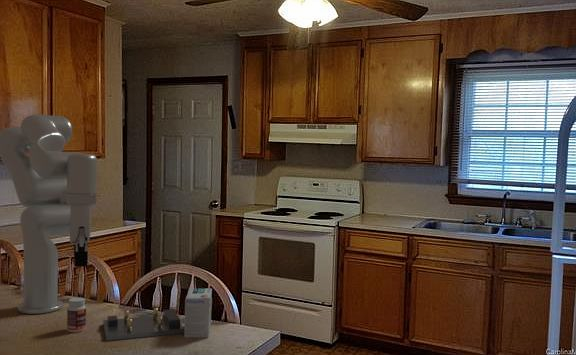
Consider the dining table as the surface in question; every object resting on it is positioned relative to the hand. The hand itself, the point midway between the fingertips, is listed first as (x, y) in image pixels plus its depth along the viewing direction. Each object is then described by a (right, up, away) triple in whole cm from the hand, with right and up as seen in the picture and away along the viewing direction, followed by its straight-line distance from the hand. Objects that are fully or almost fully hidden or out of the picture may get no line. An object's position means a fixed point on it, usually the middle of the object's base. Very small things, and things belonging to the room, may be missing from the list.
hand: (80, 262), depth 144 cm
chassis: (+16, -19, +3) cm, 25 cm away
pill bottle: (-1, -19, +1) cm, 19 cm away
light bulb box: (+31, -20, +2) cm, 37 cm away
